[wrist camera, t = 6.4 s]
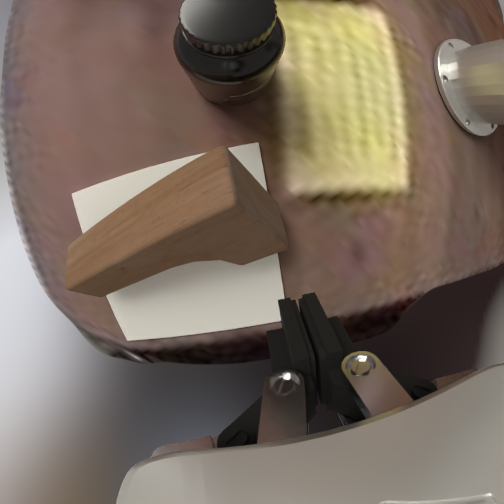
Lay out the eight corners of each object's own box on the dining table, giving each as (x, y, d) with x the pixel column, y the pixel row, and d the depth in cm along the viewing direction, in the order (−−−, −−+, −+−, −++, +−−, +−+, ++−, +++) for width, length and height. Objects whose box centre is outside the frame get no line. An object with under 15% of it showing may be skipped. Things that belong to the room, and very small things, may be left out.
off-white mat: (258, 142, 22) (258, 142, 22) (286, 316, 29) (287, 319, 28) (74, 192, 23) (71, 193, 22) (128, 338, 29) (127, 340, 29)
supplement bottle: (246, 120, 22) (252, 91, 10) (179, 88, 20) (129, 42, 9) (285, 60, 20) (320, -3, 8) (218, 30, 18) (204, -46, 7)
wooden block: (291, 249, 21) (134, 304, 27) (278, 201, 23) (132, 266, 29) (236, 201, 13) (64, 290, 20) (223, 140, 15) (66, 244, 21)
